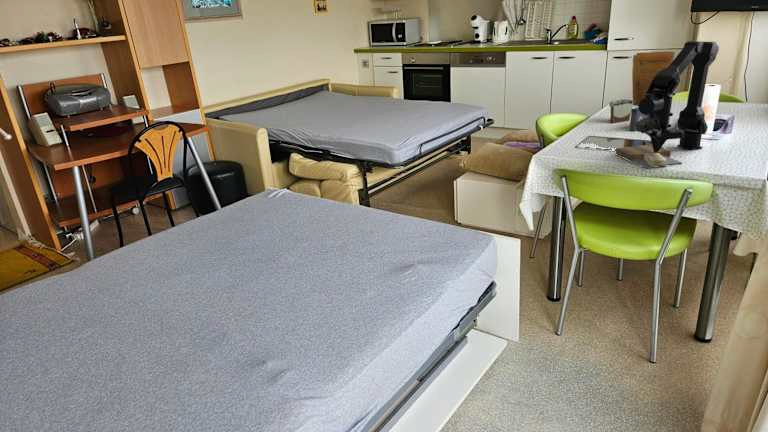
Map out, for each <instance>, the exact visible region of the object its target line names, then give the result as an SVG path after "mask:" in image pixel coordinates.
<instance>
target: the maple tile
mask: <svg viewBox="0 0 768 432" xmlns="http://www.w3.org/2000/svg"><path fill="white" fill-rule="evenodd" d="M644 160H645V161H646V162H648V163H649V164H650V165H651V166H662V167H667V166H666V165H667V160H666V159H665V158H664V157H663V156H661V155H660V154H659V153H647V154H644Z"/></svg>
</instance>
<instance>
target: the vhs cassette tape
mask: <svg viewBox="0 0 768 432" xmlns="http://www.w3.org/2000/svg"><path fill="white" fill-rule="evenodd" d="M648 115H649V114H648ZM648 115H644V114H642V113H641V112H640V111H639V108H638V107H634V108H632V110H631V115H630V120H629V122H630V123H629V131H630V132H637V130H636V126H635V123H636V122H638V121H640V120H642V119H644V118H647V117H648Z"/></svg>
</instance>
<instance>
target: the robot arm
mask: <svg viewBox="0 0 768 432" xmlns="http://www.w3.org/2000/svg"><path fill="white" fill-rule="evenodd" d="M719 50H720V46H719V45H718V43H717V42H716V41H697V40H691V41H690V40H689V41H686V42H685V43H684V45H683V48H682V49H680V51H679V52H678V54H677V55H676V56H675V57H674V60H673V62H672V63H671V64H670V65H669V66H668V67H667V68H665V69H663V70H661V71H660V72H658V73H657V74H656V75H655V77H654V78H653V80H652V82H651V84H650V86H649V88H648V90H647V92H646V95H645V98H644V99H642V100H641V101H640V103H639V105H638V106H637V108H639V111H640V112H641V113H642V114H644V115H648V114H649V115H648V117H647V118H644V119H642V120H640V121H638V122H636V123H635V126H636V130H637V131H636V132H639V133H641V134H645V135H647V136H648V137H649V138H650V140H651V142H652V146H653V150H654V152H655V153H657V152H658V151H659V150H660V148H661V147H663V146H664V144H665V143H666V141H668V140H674V139H675V140H676V139H679V143H678V144H677V145H676V146H677V147H678V148H681V149H684V150H686V151H692V150H700V149H703V146H701V142H702V140H701V139H702V135H706V133H707V131H708V125H707V122H706V120H705V115H706V113H705V111H704V109H703V107H702V106H703V105H702V103H703V98H704V93H705V88H706V82H707V79H708V72H709V68H710V66H711V65H712V64H713V63H714V61H715V60H716V59H717V54H719ZM690 64H692V66H693V69H692V74H691V80H690V87H689V90H688V97H687V102H686V106H685V107H684V108H683V109H682V110H680V112H679V115H678V119H677V128H676V127H672V124H670V117H673V115H674V113H673V112H671V110H672V103H673V97H674V96H676V92H675V90H676V89H677V87H678V86H679V84H680V83H681V75H682V73H683V72H685V70H686V69H687V67H688V66H689V65H690ZM654 89H655V90H654ZM662 90H664V91H662Z"/></svg>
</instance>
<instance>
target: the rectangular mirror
mask: <svg viewBox="0 0 768 432" xmlns="http://www.w3.org/2000/svg"><path fill="white" fill-rule="evenodd" d="M581 143H583V144H586V143H587V144H588V143H589V144H590V143H591V144H592V143H593V144H594V145H595V144H596V146H597V145H598V146H599V147H602V148H603V147H604V148H607V149H604V150H612V149H611V148H614V149H615V148H625V147H633V146H642V145H650V144H652V142H651V139H650V140H649V139H640V138H639V139H637V138H635V139H634V138H625V137H624V138H623V137H612V136H611V137H610V136H598V135H597V136H596V135H588V136H587V137H585V138H584V139H583V140H581V142H579V143H578V144H577V145H576V146H575V148H576V147H577V146H578V145H580V144H581ZM578 147H579V146H578ZM609 147H610V149H608V148H609ZM585 148H590V147H585ZM596 149H601V148H596ZM604 150H603V151H604ZM615 151H616V149H615ZM615 151H614V152H615Z"/></svg>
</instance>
